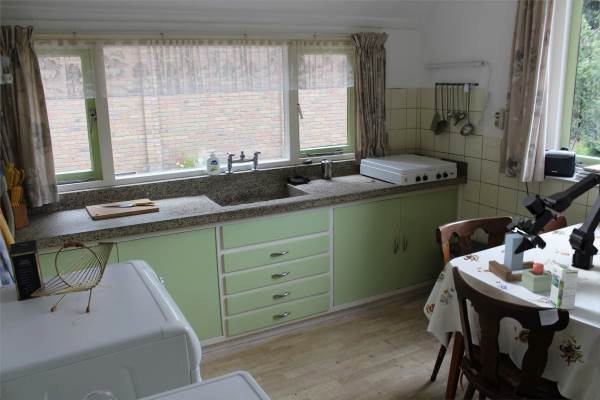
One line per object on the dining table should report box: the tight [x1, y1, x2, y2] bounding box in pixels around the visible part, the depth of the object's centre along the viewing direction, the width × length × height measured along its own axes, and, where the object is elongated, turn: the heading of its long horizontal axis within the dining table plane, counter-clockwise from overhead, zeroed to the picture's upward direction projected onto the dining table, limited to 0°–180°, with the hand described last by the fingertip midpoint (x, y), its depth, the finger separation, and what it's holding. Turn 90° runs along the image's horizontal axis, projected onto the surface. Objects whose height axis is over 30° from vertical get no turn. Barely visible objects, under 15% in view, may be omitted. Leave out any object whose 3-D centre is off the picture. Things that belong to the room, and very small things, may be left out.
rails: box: [500, 260, 552, 282], centre depth 204 cm, size 17×12×2 cm
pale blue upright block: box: [503, 233, 525, 271], centre depth 202 cm, size 5×5×13 cm
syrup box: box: [549, 263, 579, 310], centre depth 174 cm, size 6×6×14 cm
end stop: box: [488, 260, 513, 283], centre depth 203 cm, size 2×12×4 cm, turn 10°
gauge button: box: [532, 262, 545, 274], centre depth 189 cm, size 4×4×3 cm
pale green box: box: [520, 268, 553, 294], centre depth 190 cm, size 8×7×6 cm
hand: (510, 251), depth 201 cm, fingers closed on pale blue upright block, 5 cm apart
